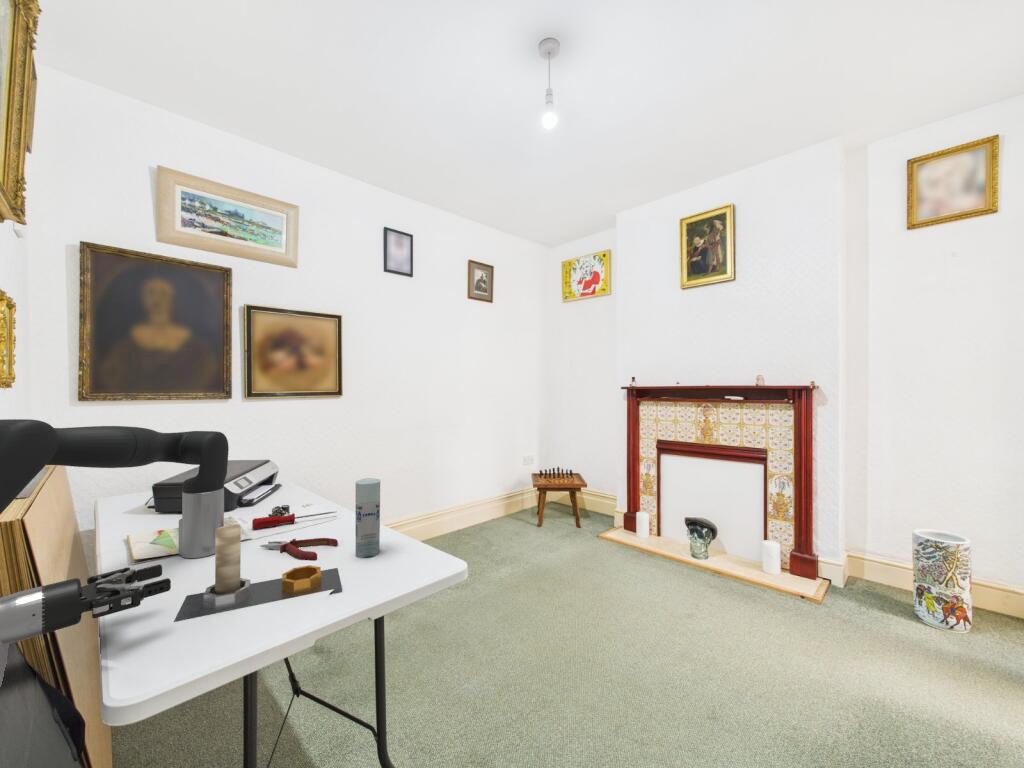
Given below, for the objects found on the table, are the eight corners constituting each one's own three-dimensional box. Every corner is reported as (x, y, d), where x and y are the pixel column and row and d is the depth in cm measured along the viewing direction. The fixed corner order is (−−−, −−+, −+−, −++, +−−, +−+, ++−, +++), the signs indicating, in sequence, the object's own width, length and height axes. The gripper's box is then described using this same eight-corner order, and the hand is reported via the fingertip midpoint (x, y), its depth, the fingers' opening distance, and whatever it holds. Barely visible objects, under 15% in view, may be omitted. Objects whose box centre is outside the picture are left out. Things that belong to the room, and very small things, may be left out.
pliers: (278, 540, 124) (278, 532, 124) (339, 546, 120) (339, 537, 120) (247, 556, 113) (247, 547, 113) (313, 563, 109) (313, 553, 109)
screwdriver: (337, 518, 144) (337, 508, 144) (252, 531, 130) (252, 520, 130) (335, 515, 147) (335, 505, 147) (252, 528, 133) (252, 517, 133)
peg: (209, 603, 86) (210, 531, 86) (226, 592, 90) (226, 524, 90) (229, 605, 86) (229, 532, 86) (245, 594, 90) (245, 525, 90)
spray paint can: (354, 550, 116) (354, 479, 116) (378, 547, 119) (378, 477, 119) (355, 560, 110) (356, 484, 110) (381, 555, 113) (382, 482, 113)
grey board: (173, 627, 79) (173, 608, 79) (186, 600, 89) (186, 584, 89) (341, 591, 93) (342, 576, 93) (337, 571, 103) (337, 557, 103)
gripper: (39, 603, 63) (173, 568, 76) (39, 574, 73) (159, 547, 85) (38, 652, 63) (173, 609, 76) (39, 617, 73) (159, 583, 85)
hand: (165, 576), depth 80 cm, fingers open, 8 cm apart
